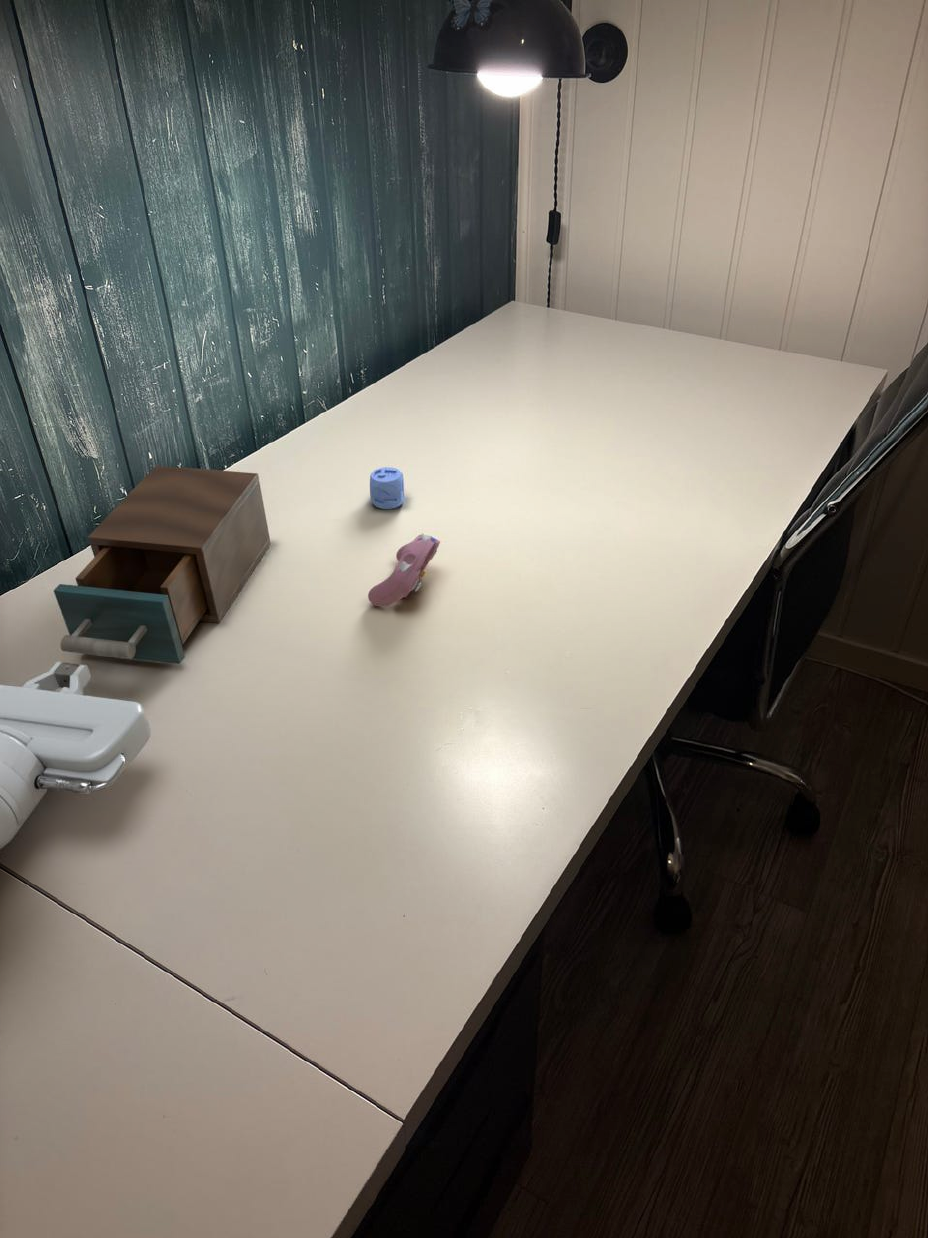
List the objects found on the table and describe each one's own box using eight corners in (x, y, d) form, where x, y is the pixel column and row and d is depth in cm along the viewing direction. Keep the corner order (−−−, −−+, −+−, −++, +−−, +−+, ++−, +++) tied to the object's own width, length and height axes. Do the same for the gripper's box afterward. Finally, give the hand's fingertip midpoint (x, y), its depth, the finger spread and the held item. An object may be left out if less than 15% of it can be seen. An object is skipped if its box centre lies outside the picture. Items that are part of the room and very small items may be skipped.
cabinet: (219, 623, 100) (201, 547, 94) (111, 611, 102) (87, 537, 96) (271, 544, 112) (258, 473, 106) (173, 535, 114) (155, 465, 108)
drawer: (160, 693, 89) (141, 630, 85) (52, 680, 91) (28, 617, 86) (235, 581, 104) (222, 522, 99) (141, 572, 106) (124, 513, 101)
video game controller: (398, 624, 101) (421, 582, 97) (362, 602, 101) (384, 560, 96) (429, 574, 109) (452, 534, 104) (396, 554, 108) (418, 513, 104)
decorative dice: (402, 509, 118) (400, 481, 115) (371, 509, 118) (368, 482, 115) (404, 493, 121) (402, 466, 118) (374, 493, 121) (371, 466, 118)
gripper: (93, 769, 71) (171, 655, 81) (-138, 736, 74) (-34, 630, 85) (114, 822, 75) (186, 706, 85) (-107, 788, 78) (-11, 681, 89)
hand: (75, 668), depth 85 cm, fingers closed
